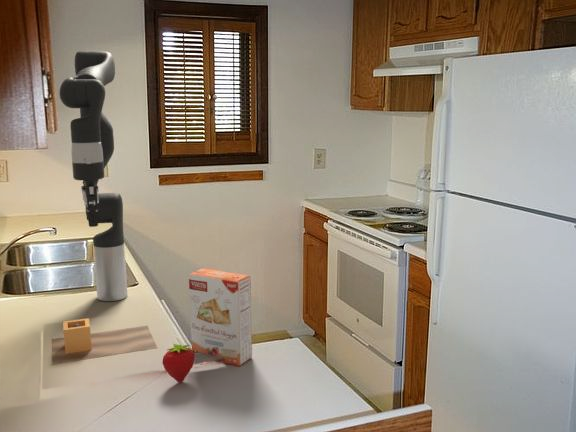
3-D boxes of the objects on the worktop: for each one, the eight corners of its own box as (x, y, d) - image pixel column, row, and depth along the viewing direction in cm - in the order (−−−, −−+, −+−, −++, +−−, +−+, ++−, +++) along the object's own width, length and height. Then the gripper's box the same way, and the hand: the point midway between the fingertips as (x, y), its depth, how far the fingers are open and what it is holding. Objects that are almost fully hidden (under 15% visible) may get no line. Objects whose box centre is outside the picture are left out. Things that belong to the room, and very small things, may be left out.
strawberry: (157, 383, 130) (155, 340, 128) (185, 372, 135) (183, 330, 134) (173, 392, 126) (171, 348, 124) (201, 380, 131) (200, 337, 130)
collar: (65, 344, 148) (63, 321, 147) (90, 340, 150) (88, 318, 149) (65, 353, 142) (63, 330, 141) (91, 349, 144) (89, 326, 143)
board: (52, 344, 152) (49, 316, 150) (147, 330, 160) (146, 304, 159) (52, 370, 137) (50, 339, 135) (157, 353, 146) (156, 324, 144)
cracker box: (190, 356, 144) (187, 273, 140) (205, 347, 149) (202, 267, 145) (239, 367, 137) (237, 281, 134) (253, 358, 143) (251, 274, 139)
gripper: (71, 158, 155) (75, 219, 158) (73, 163, 142) (78, 229, 145) (101, 157, 158) (105, 217, 161) (105, 162, 145) (110, 227, 148)
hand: (92, 223), depth 153 cm, fingers open, 8 cm apart
